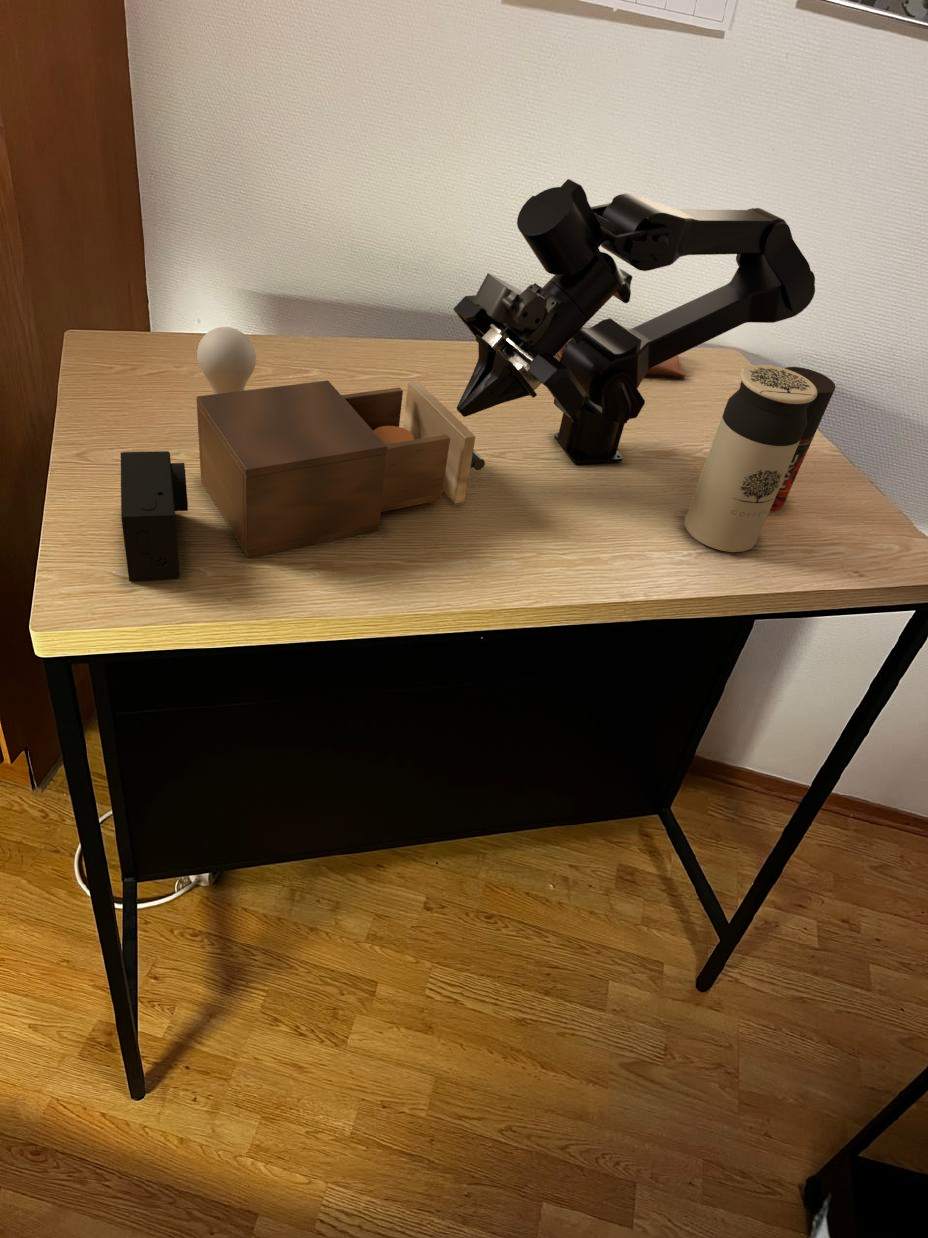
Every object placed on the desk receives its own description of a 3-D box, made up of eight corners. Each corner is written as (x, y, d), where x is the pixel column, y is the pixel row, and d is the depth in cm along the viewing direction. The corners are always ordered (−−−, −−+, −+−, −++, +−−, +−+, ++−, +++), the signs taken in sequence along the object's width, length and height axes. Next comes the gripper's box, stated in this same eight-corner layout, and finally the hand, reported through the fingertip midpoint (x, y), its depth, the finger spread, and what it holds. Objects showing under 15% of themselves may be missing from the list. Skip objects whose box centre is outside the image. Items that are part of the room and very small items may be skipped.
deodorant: (756, 515, 102) (807, 395, 93) (723, 487, 106) (768, 369, 96) (793, 507, 105) (847, 389, 95) (760, 480, 109) (808, 364, 99)
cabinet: (324, 461, 98) (328, 379, 92) (379, 530, 90) (387, 446, 84) (200, 481, 92) (196, 396, 86) (247, 558, 83) (246, 469, 77)
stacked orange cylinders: (407, 456, 97) (411, 422, 95) (420, 484, 94) (425, 448, 91) (358, 458, 96) (361, 423, 93) (370, 486, 92) (373, 451, 89)
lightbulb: (189, 425, 100) (183, 330, 92) (221, 404, 104) (217, 312, 97) (237, 442, 98) (234, 347, 91) (267, 420, 103) (267, 328, 96)
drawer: (441, 437, 104) (450, 375, 99) (497, 495, 96) (510, 430, 91) (306, 460, 96) (309, 393, 91) (356, 524, 88) (361, 455, 83)
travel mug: (678, 507, 101) (731, 357, 90) (747, 517, 102) (808, 369, 90) (689, 549, 95) (747, 393, 84) (762, 559, 96) (830, 406, 84)
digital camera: (194, 578, 80) (189, 514, 76) (129, 582, 79) (121, 516, 74) (187, 512, 88) (183, 449, 83) (127, 514, 86) (120, 450, 81)
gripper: (482, 215, 92) (376, 328, 94) (588, 287, 81) (466, 413, 83) (530, 286, 101) (433, 388, 103) (633, 360, 89) (521, 473, 91)
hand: (460, 412), depth 95 cm, fingers closed
